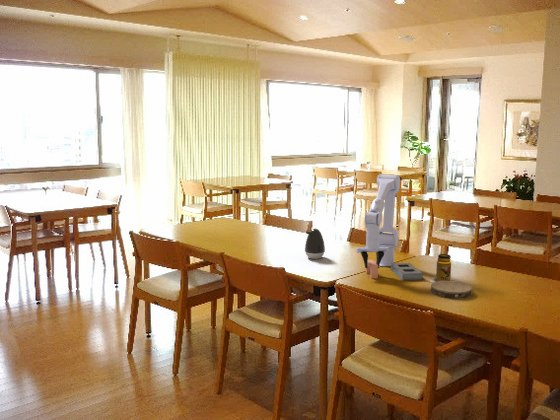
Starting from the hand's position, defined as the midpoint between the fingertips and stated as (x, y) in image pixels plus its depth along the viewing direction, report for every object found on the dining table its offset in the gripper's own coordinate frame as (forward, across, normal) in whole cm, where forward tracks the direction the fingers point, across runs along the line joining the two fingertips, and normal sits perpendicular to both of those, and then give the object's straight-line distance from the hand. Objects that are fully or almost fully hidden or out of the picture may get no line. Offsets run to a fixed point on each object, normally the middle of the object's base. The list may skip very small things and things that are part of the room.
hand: (371, 267), depth 256 cm
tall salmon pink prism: (+4, 0, 0) cm, 4 cm away
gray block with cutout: (+4, +16, 0) cm, 16 cm away
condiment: (+4, +28, -12) cm, 31 cm away
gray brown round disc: (+4, +26, -28) cm, 38 cm away
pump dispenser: (+4, -21, +34) cm, 40 cm away
